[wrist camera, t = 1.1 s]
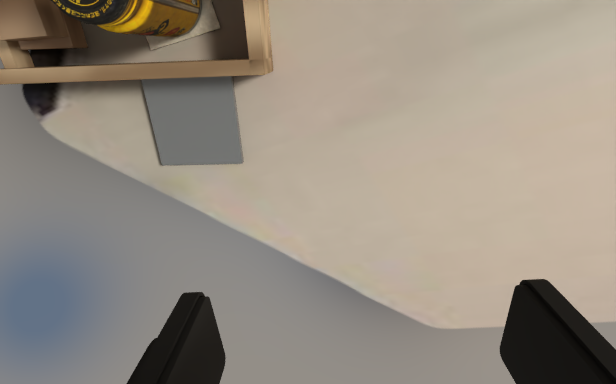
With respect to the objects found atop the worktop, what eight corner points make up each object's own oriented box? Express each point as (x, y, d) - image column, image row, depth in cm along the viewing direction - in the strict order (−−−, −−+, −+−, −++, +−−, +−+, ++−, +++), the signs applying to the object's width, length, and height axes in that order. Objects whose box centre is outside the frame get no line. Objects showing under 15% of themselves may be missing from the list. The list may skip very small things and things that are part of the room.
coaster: (144, 78, 31) (141, 79, 31) (232, 75, 31) (230, 76, 30) (164, 163, 35) (162, 165, 35) (243, 161, 35) (242, 163, 34)
